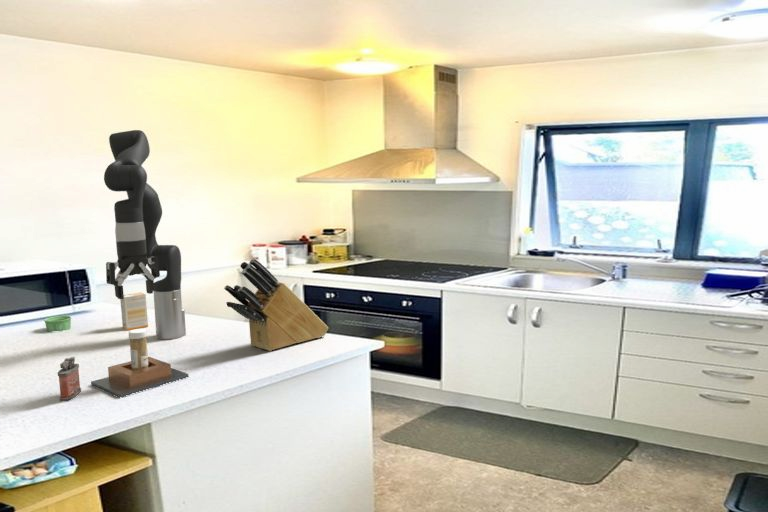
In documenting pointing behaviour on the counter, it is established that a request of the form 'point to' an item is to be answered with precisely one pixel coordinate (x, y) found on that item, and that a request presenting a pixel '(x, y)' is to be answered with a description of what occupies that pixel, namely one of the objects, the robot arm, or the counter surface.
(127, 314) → the supplement box
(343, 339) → the counter surface
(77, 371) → the lighter
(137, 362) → the spice jar
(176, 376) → the collar deck
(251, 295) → the knife block
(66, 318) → the ramekin
